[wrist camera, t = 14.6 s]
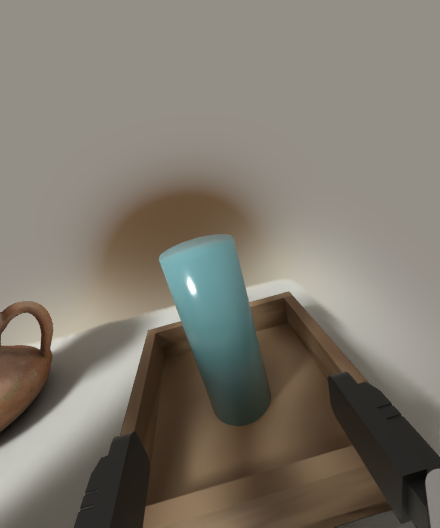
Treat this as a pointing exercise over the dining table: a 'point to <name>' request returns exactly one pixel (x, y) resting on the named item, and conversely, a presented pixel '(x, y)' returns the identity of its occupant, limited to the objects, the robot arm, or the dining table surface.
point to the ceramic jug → (23, 364)
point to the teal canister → (219, 325)
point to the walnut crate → (250, 434)
